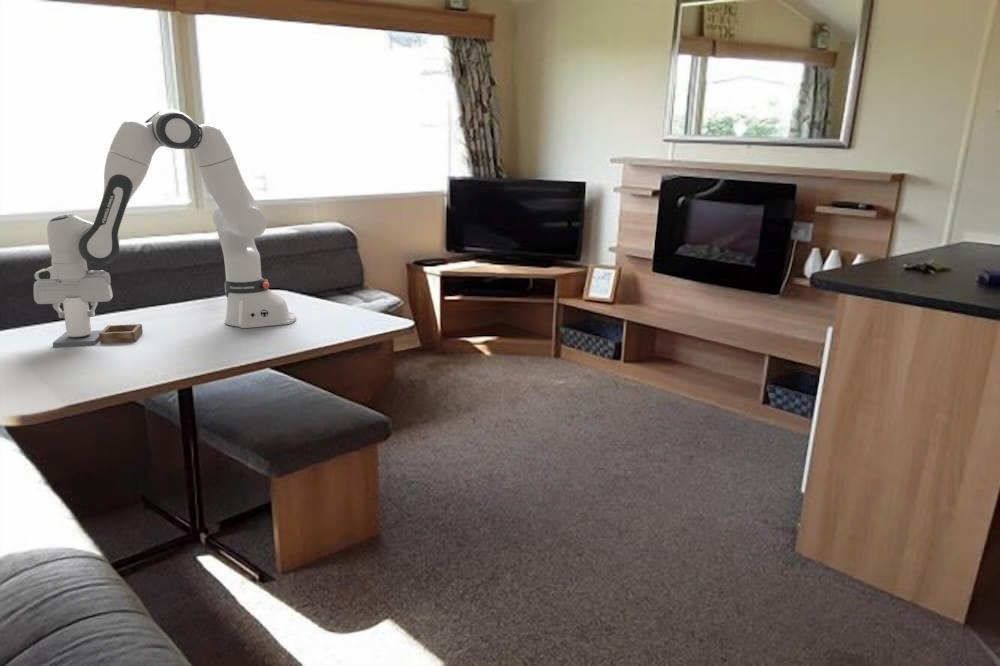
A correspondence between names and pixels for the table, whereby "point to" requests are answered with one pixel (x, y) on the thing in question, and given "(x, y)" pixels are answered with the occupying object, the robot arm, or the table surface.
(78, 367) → the table surface
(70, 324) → the can
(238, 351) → the table surface
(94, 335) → the coaster
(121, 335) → the square wooden frame
